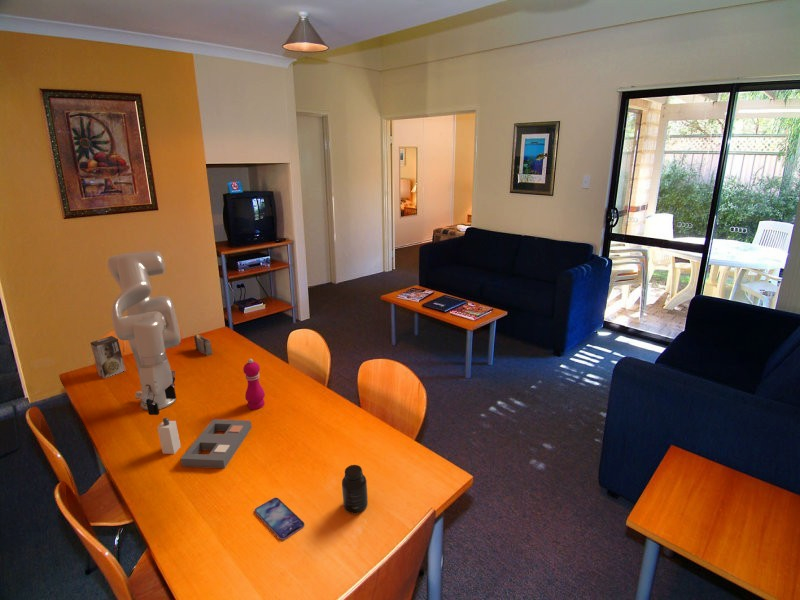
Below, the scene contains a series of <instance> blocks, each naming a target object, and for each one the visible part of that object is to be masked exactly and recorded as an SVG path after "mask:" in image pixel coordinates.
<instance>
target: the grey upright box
mask: <svg viewBox="0 0 800 600" xmlns="http://www.w3.org/2000/svg"><path fill="white" fill-rule="evenodd" d="M192 334H193V335H194V336H193V339H194V344H195V345H194V346H195V350H196V351H198V352H199V351H200V352H199V353H201V352H202V353H201V354H203V355H205V354H206V355H207V357H208V355H209V356H211V355H210V354H212V355H213V350H212V343H211V340H210V339H208V338H205V337H203V336H202V335H200V334H199V333H194V332H193V333H192ZM197 349H198V350H197ZM206 355H205V356H206Z"/></svg>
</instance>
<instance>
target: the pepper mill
mask: <svg viewBox="0 0 800 600" xmlns="http://www.w3.org/2000/svg"><path fill="white" fill-rule="evenodd" d="M260 369H261V368H260V364H259V363H258V362H256V361H254V360H253V359H252V358H249V359H248V361H247V363H245V364H244V366H243V368H242V370H243V374H244V375H245V380H246V381H247V388H246V391H245V400H246V401H247V407H248V409H250V410H259V409H261V408H263V407H264V406H265V403H266V402H265V399H264V398H265V394H266V393H265V391H264V389H263V387H262V385H261V384H260V381H259V380H260V379H259V378H260Z"/></svg>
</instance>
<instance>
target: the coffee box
mask: <svg viewBox="0 0 800 600" xmlns="http://www.w3.org/2000/svg"><path fill="white" fill-rule="evenodd" d="M90 346H91V347H90V348H91V350H92V354H93V358H94V361H95V366H96V369H97V373H98V376H99V377H101V376H102V377H101V378H103V379H104V378H105V379H107V377H108V378H110V376H111V377H113V376H116V375H119V374H121V373H124V372H126V367H125V363H124V358H123V354H122V352H121V351H122V350H121V347H120V342H119V338H118V337H115V336H112V335H110V336H107V337H104V338H100V339H97V340H94V341H92V342H90ZM123 371H124V372H123ZM115 374H116V375H115ZM112 375H113V376H112Z"/></svg>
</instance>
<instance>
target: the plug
mask: <svg viewBox="0 0 800 600" xmlns="http://www.w3.org/2000/svg"><path fill="white" fill-rule="evenodd" d="M169 419H170V418H169V417H164V418H163V419H162V422H161V423H160V424H159V425H158V426H157V432H158V436H159V442H160V446H161V451H162V454H166V455H167V454H169V455H175V454H176V453H177V452H178V451H179V450H180V448H181V441H180V436H179V432H178V425H177V421H176V420H169Z"/></svg>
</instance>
